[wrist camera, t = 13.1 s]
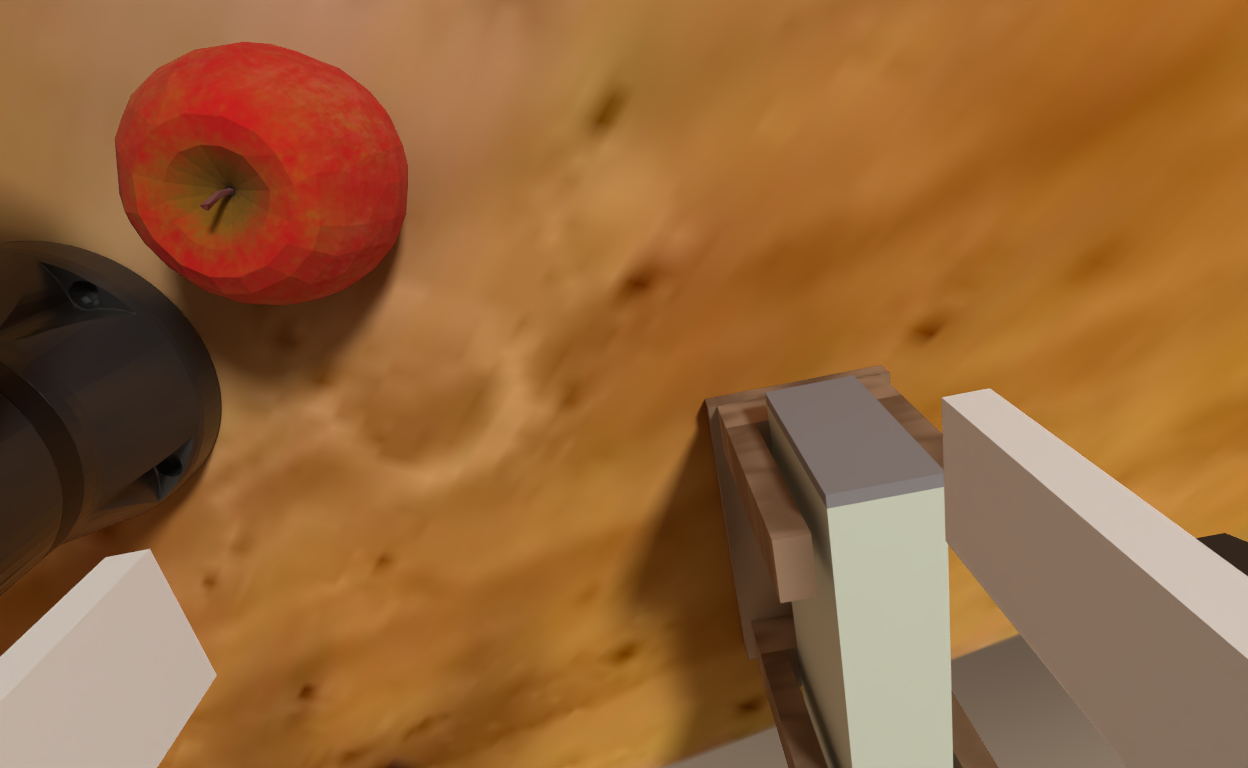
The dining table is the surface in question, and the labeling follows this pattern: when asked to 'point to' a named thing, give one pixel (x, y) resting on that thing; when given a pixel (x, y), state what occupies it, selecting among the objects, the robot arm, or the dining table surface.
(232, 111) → the apple
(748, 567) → the u-shaped post stand
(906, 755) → the cream rectangular block
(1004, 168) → the dining table surface
